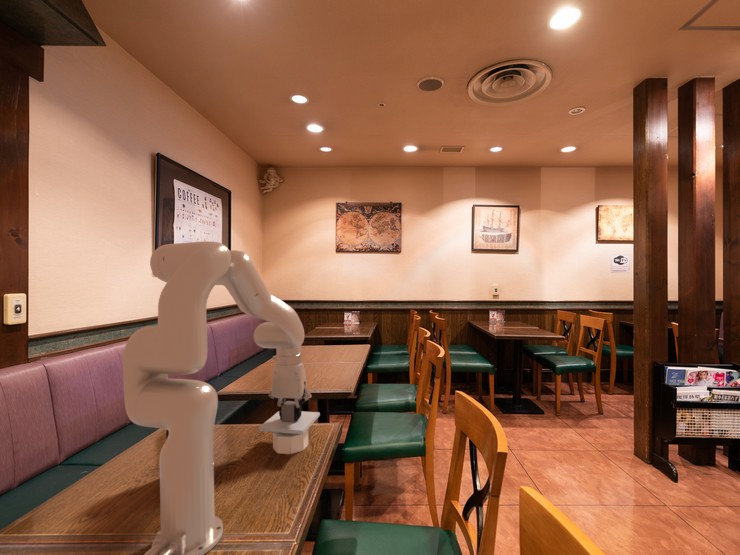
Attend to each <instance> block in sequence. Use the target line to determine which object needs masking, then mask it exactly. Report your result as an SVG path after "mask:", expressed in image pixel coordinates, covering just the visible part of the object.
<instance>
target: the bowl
mask: <svg viewBox="0 0 740 555" xmlns="http://www.w3.org/2000/svg"><path fill="white" fill-rule="evenodd" d="M308 446H309V428H308V429H307V430H306V431H305V433H304V434H294V433H280V432H272V449H273V450H274V451H275V453H277V454H283V455H293V454H297V453H300V452H303V451H305V449H306V448H307V447H308Z"/></svg>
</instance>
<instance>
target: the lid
mask: <svg viewBox="0 0 740 555" xmlns="http://www.w3.org/2000/svg"><path fill="white" fill-rule="evenodd" d="M295 407H296V406H295V400H294V401H292V400H287V401H286V400H285V403H284V404H283V405H281V410H282V420H280V416H279V411H276V413H274V415H272V416H271V417H270V418H268V419H267V420H266V421H265V422H263V423H262V424H261V425H260V426H258V428H257V430H258V432H267V433H268V432H269V433H271V432H272V433H273V432H280V433H294V434H304V433H305V431H306V430H307V429H308V430H309V428H310V427H311V426H312V425H313V424H314V422H315V421H317V419H318V418H319V417H320V416H321V413H320V412H319V411H303V410H301V417H300V418H299V419H298V420H297V421H295V420H294V408H295Z"/></svg>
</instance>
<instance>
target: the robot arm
mask: <svg viewBox="0 0 740 555" xmlns="http://www.w3.org/2000/svg"><path fill="white" fill-rule="evenodd" d="M149 263H150V264H149V265H150V270H151V272H152V273H153V274H154V277H155V278H157V279H158V280H160V281H162V282H165V285H164V286H163V289H161V292H160V295H159V298H158V303H157V325H147V326H143V327H141V328H139V329H137V330H136V331H134V332H133V333H132V334H131V335H130V337H129V338H128V339H127V341H126V344H125V346H124V349H123V354H122V373H123V374H122V376H123V394H124V395H123V396H124V408H125V412H126V416H127V417H128V418H129V420H130V421H131V423H133V424H135V425H137V426H140V427H146V428H155V429H162V430H165V431H166V430H168V431H169V435H168V438H167V440H165V442H164V444H163V446H162V447H161V450H160V454H159V458H158V459H159V460H158V461H159V463H158V464H159V468H158V469H159V502H160V504H159V506H160V508H159V510H160V512H159V513H160V514H159V515H160V530H159V531H157V532H156V536H155V538H154V539H153V541H152V543H151V548H150V549H148V550H147V551H146V552H145V553H144V554H143V555H205V554H207V553H208V552H210V550H212V549H213V548H214V547H215V546H216V545H217V544H218V543H219V542H220V540H221V538H222V536H223V533H224V523H223V521H222V519H221V518H220V517H218V516H216V515H215V514H216V513H215V468H214V466H215V464H214V462H215V461H214V460H215V459H214V432H215V423H216V416H217V413H218V412H217V411H218V405H219V398H218V393H217V390H216V389H215V388H214V387H213V386H212V385H211V384H209V383H208V382H205V381H202V380H197V379H189V378H188V379H186V378H170V377H169V375H181V376H183V375H185V376H186V375H191V374H195V373H198V372H200V371H201V370H202V369H204V367H205V364H206V362H207V359H208V325H207V324H208V323H207V307H208V306H207V303H208V300H209V296H210V294H211V291H213V289H214V287H215V286H224V287H225V288H226V290H227V291H228V293H229V295H230V296H231V297H232V299H233V301H234V302H235V304H236V305H237V307H238V308H239V310H240V311H242V313H244V314H247V315H249V316H252V317H254V318H256V319H259V320H263V321H265V322H263V323H259V325H257V327H255V329H254V332H253V341H254V342H255V344H256V345H257V346H258V347H260V348H264V349H276V354H275V355H273V356H272V360H273V361H274V360H275V364H274V365H273V370H272V376H271V390H270V391H269V393H268V397H269V398H271V399H272V400H273V401H274V402H275V403H276V405H277V407H278V410H279V416H280V420H282V410H281V405H283V404H284V403H285V402H286V399H291V400H292V399H293V400H294V401H295V406H296V407H295V408H294V420H295V421H297V420H298V419H299V418H300V417H301V411H302V405H303V404H304V403H305V402H306V401H308V400H309V399H311V398H312V394H311V392H310V390H309V389H308V386H307V385H308V383H307V382H308V381H307V374H306V369H305V366H304V362H303V361H302V345H303V343H304V340H305V329H304V326H303V323H302V321H301V319H300V317H299V315H298V313H297V312H296V311H295V309H294V308H293V307H292V306H290V305H289V304H287V303H286V302H284V301H283V300H282V299H281V298H279V297H277V296H276V295H274V294H272V293H271V292H270V291H269V290H268V287H267V286H266V284H265V283H264V280H263V278H262V276H261V275H260V273H259V271H258V270H257V267H256V266H255V264H254V262H253V261H252V258H251V257H250V255H248V254H247V252H244V251H241V250H234V249H233V250H230V249H229V248H228V246H226V245H225V244H224V243H220V242H217V241H191V242H183V243H182V242H180V243H179V242H178V243H169V244H167V243H166V244H163V245H161V246H158V247H157V248H156V249H155V250H154V251H153V252H152V254H151V257H150V262H149Z"/></svg>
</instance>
